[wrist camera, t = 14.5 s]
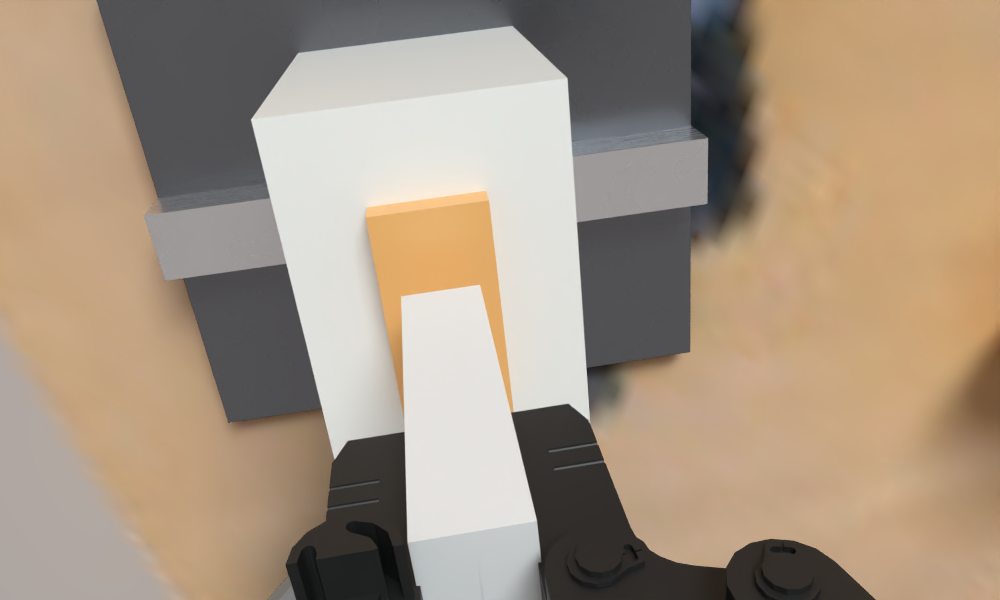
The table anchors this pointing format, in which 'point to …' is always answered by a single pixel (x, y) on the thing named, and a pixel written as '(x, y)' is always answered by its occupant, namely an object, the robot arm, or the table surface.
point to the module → (426, 212)
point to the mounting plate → (382, 18)
